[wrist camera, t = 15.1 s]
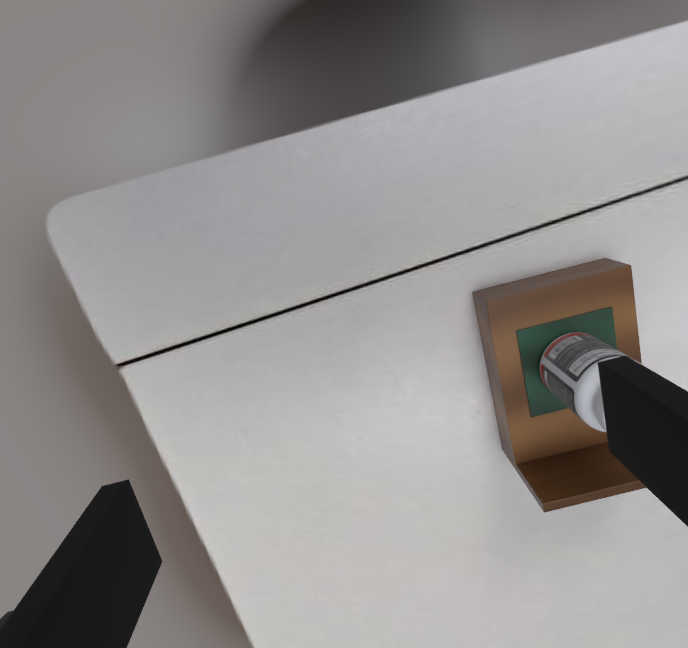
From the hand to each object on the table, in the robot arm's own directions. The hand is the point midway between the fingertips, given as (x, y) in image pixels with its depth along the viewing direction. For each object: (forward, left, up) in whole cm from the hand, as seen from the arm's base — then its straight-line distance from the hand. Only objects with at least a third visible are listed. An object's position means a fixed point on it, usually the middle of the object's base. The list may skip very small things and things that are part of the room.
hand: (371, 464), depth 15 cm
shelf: (+13, +17, -33) cm, 39 cm away
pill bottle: (+12, +17, -29) cm, 35 cm away
